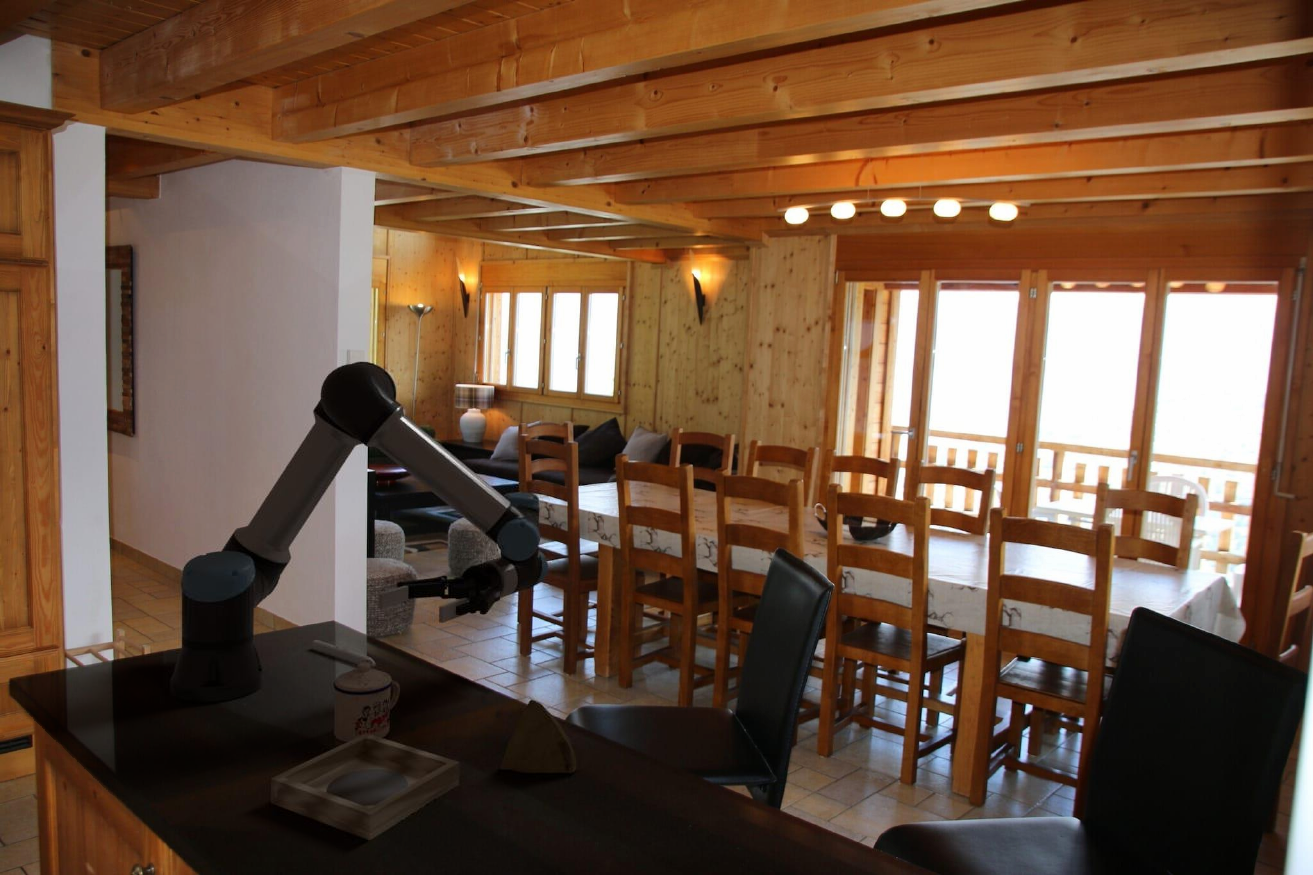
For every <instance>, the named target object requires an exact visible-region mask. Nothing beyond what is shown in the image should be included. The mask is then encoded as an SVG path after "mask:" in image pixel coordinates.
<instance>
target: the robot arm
mask: <svg viewBox="0 0 1313 875" xmlns="http://www.w3.org/2000/svg"><path fill="white" fill-rule="evenodd" d="M312 412H313V416H314V422H315V423H314V424H313V425H312V427H311V428H310V430H309V432H308V433H307V435H306V436H305V437H304V439H303V441H301V442H302V443H301V444H300V445H299V447H298V448H297V450H296V451H295V452H294V454H293V456H292V457H291V459H290V461H288V463H287V465H286V467H285V468H284V470H283V471H282V473H281V474H280V475H279V477H278V478H277V481H276V482H275V483H274V485H273V486H272V488H271V489H270V491H269V492H268V494H267V495H266V497H265V499H264V500H263V502H262V503H261V505H260V506H259V508H258V509H257V511H256V513H255V514H254V515H253V517H252V519H251V520H250V521H249V523H248V525H246V526H241V527H238V528H235V530H234V531H233V533H232V534H231V535H230V537H229V538H228V540H227V542H226V543H225V545H224V546H223V548H222V549H221V550H220V551H212V552H211V551H210V552H207V553H205V554H200V555H197V556H194V557H193V558H191V559H190V560H188V561H187V562H186V564H185V565H184V567H183V569H182V577H181V580H180V588H181V648H180V651H179V654H178V658H177V661H176V662H175V666H174V671H173V673H172V675H171V677H170V686H169V687H170V690H169V691H170V692H169V693H170V694H171V696H173V697H175V698H177V699H180V700H183V701H187V702H198V703H199V702H200V703H202V702H203V703H207V702H208V703H210V702H221V701H229V700H233V699H238V698H242V697H244V696H248V695H249V694H253V693H254V692H256V691H257V690H259V689H260V688H262V686H263V684H264V669H263V666H262V662H261V660H260V657H259V655H258V651H257V648H256V646H255V642H254V631H255V630H254V624H255V621H254V620H255V618H254V617H255V608H256V607H258V605H260V603H262V602H263V601H264V600H265V599H267V597H268V596H270V595H271V594H272V593H273V591H275V589H276V587H277V585H278V584H279V581H280V579H281V575H282V574H283V572H284V571H285V569H286V568H287V566H288V565H289V563H290V562H291V559H292V555H291V551H290V546H291V545H292V543H293V542H294V540H295V539H296V537H297V536H298V534H299V533H300V531H301V530H302V528H303V527H304V525H305V524H306V522H307V521H308V519H309V517H310V516H311V515H312V513H313V511H314V510H315V508H316V507H317V506H318V504H319V502H320V501H321V499H322V498H323V496H324V494H325V493H326V491H327V490H328V488H329V487H330V486H331V484H332V482H333V481H334V479H335V478H336V477H337V475H338V473H339V472H340V470H341V469H342V467H343V466H344V464H345V463H346V461H347V459H348V458H349V457H350V455H351V453H352V452H353V450H354V449H355V448H356V446H359V445H364V446H365V447H367V448H368V447H370V448H371V447H375V448H377V449H378V450H379V451H381V452H382V454H385V455H386V456H387V457H388V458H389V459H391V460H393V462H395V463H396V464H397V465H398V466H399V467H401V468H402V469H403V470H404V471H406V472H407V473H408V474H409V475H411V476H412V477H413V478H415V479H416V480H417V481H418V482H420V484H422V485H423V486H424V487H426V488H427V489H428V490H430V491H431V492H432V493H433V494H434V495H435V496H437V497H438V498H439V499H440V500H441V501H443V502H444V503H446V504H447V506H449V507H451V508H452V509H453V510H454V511H456V512H457V513H458V514H459V515H460V516H461V517H463V518H464V519H465V520H467V521H468V522H469V523H470V524H472V525H473V526H474V527H476V528H477V529H478V530H479V531H480V532H482V534H484V535H485V536H486V537H487V538H488V539H490V540H491V541H492V542H493V543H494V544H496V545H497V547H498V549H499V552H500V556H499V557H497V558H493V559H491V560H487V561H483V562H481V563H478V564H475V565H471V566H468V567H467V568H466V569H465V570H464V571H463V572H462V574H461V576H456V577H454V578H448V576H447V575H445V574H444V575H441V576H436V577H429V578H422V579H414V580H407V581H406V580H404V581H398V582H397V583H396V587H395V588H393V589H390V590H386V591H382V592H380V593H378V610H384V609H387V608H391V607H393V606H396V605H400V604H406V603H407V602H408V601H409V600H412V599H413V600H414V599H426V598H427V599H428V598H437V597H438V598H439V597H440V598H441V600H448V599H449V600H451V599H455V601H451V602H448V603H445V604H443V605H439V607H438V622H439V623H440V624H443V623H447V622H449V621H452V620H453V619H457V618H459V617H462V616H465V615H468V614H471V615H473V614H477V612H479V614H480V615H483V616H484V615H487V614H488V612H489V611H490V609H492V607H493V605H494V604H495V603H497V602H499V601H500V600H501V599H502V598H504V597H508V596H510V595H512V594H516V593H519V592H522V591H524V590H530V589H532V588H533V587H535V586H537V585H539V584H540V583H542V582H543V581H545V579H546V577H547V575H548V572H549V563H548V562H547V559H546V556H545V554H544V553H543V552H542V551H541V550H539V546H540V541H541V531H540V511H541V508H540V499H539V496H538V495H536V494H534V493H531V492H510V493H505V494H504V495H502V494H501V493H500V492H499V491H498V490H496V489H495V488H494V487H493V486H491V485H490V484H489V483H488V482H487V481H485V479H483V478H482V477H480V476H479V475H478V474H477V473H476V472H474V471H473V470H472V469H471V468H469V466H467V465H466V464H464V463H463V461H461V460H460V459H459V458H458V457H456V456H455V455H454V454H453V453H452V452H450V451H449V450H448V449H446V447H444V446H443V445H441V444H440V443H439V442H438V441H437V440H435V439H434V438H433V437H432V436H431V435H429V434H428V433H427V432H426V431H425V430H424V429H422V428H421V427H419V425H418V424H416V423H415V422H414V421H413V420H411V419H410V418H409V417H408V416H406V415H405V413H404V406H403V405H402V404H401V403H399V402H398V401H397V388H396V384H395V381H394V379H393V377H392V376H391V375H390V373H389V372H388V371H386V370H385V368H382V367H381V366H379V365H377V364H375V363H373V362H369V361H356V362H352V363H348V364H343V365H340V366H338V367H337V368H335V369H333V370H332V371H331V372H329V374H328V375H327V376H326V377H325V379H324V380H323V383H322V386H321V388H320V399H319V400H318V403H317V404H316V405H315V407H314V408H313V410H312ZM446 590H447V594H446Z"/></svg>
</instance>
